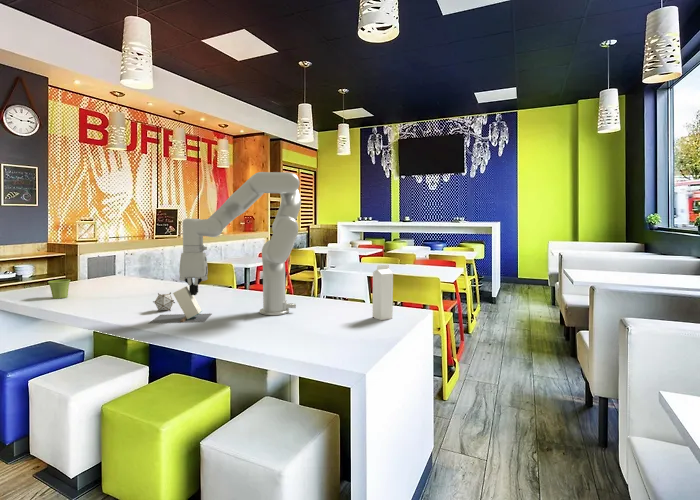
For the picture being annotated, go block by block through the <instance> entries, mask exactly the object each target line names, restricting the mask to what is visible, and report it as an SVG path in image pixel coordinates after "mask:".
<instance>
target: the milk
mask: <svg viewBox="0 0 700 500" xmlns="http://www.w3.org/2000/svg"><path fill="white" fill-rule="evenodd" d="M389 267H390V266H389V264H380V265H379V264H378V265H377V266H376V269H375V270H374V271H373V272H372V318H373V317H374V318H373V319H376V320H378V321H384V320H391V319H393V314H394V313H393V309H394V307H393V306H394V305H393V304H394V303H393V301H394V300H393V299H394V297H393V296H394V295H393V294H394V273H393V271H392V270H391V269H390V268H389Z"/></svg>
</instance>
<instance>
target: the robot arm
mask: <svg viewBox="0 0 700 500" xmlns="http://www.w3.org/2000/svg"><path fill="white" fill-rule="evenodd" d="M300 183H301V181H300V179H299V176H297V175H296V174H295V173H294V172H287V171H285V172H283V171H281V172H280V171H279V172H278V171H273V172H271V171H270V172H269V171H259V172H256V173H254V174H252V175H251V176H250V177H249V178H248V179H247V180H246V181H245V182H244V183H243V184H242V185H241V186H240V187H238V189H236V190H235V191H234V192H233V193H232V194H231V195H230V196H229V197H228V198H227V199H226V200H225V202H224V203H223V204H222V205H221V206H220V207H219V208H218V209H216V211H214V213H212V214H211V215H210V216H209V217H208V218H205V219H204V218H203V219H201V218H184V219H183V220H182V252H181V254H180V258H179V259H180V260H179V281H182V282H185V283H186V284H187V286H189V289H190V293H191V295H194V296H197V295H198V293H199V284H200V283H201V282H205V281H207V280H208V279H209V278H208V272H209V270H208V269H209V268H208V267H209V266H208V261H207V260H208V259H207V255H206V254H207V253H206V252H205V251H207V250H208V247H207V246H204V237H209V238H217V237H219V236H220V235H221V234H222V233H223V231H224V230H225V228H227V226H228V225H229V224H231V222H233V221H234V220H235V219H237V217H239V216H241V215H243V214H244V213H246V212H247V211H248V209H250V207H252V206H253V204H255V203H256V202H257V201H258V200H259V199H261V198H262V196H263V195H264V194H279V195H280V199H281V200H280V205H279V208H278V211H277V213H276V216H275V219H274V221H273V223H272V226H271V228H272V229H271V231H272V234H271V235H272V236H271V237H270V239H269V240H267V241H266V242H265V243H264V244H263V246H262V248H261V260H262V301H263V302H262V303H263V305H262V308H260V309H259V313H260V314H261V315H264V316H282V315H286V314H289V312H290V309H296V307H297V304H296V303H292V302H291V303H289V302H287V300H286V263H285V262H286V261H287V260H288V259H289V256H290V255H291V252H292V250H293V247H294V244H295V243H296V242H295V241H296V239H297V238H298V237H297V236H298V233H299V224H298V222H297V219H298V216H299V213H300V209H301V205H302V199H301V193H300V191H299V188H300V185H301V184H300ZM193 279H194V280H193Z"/></svg>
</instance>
